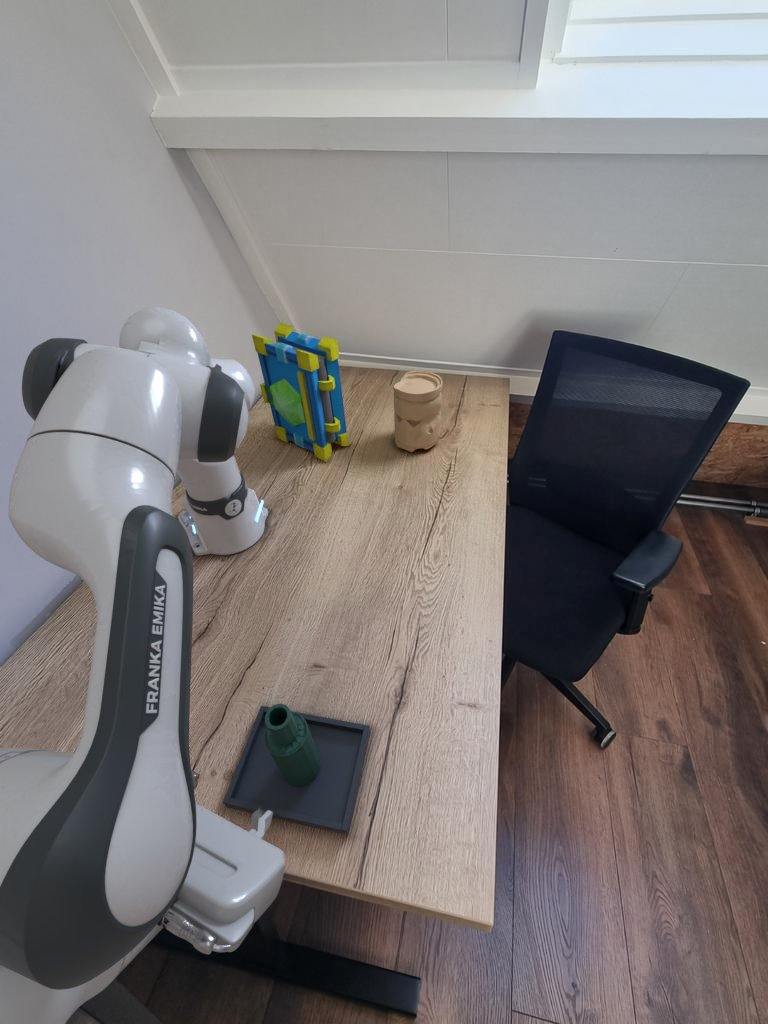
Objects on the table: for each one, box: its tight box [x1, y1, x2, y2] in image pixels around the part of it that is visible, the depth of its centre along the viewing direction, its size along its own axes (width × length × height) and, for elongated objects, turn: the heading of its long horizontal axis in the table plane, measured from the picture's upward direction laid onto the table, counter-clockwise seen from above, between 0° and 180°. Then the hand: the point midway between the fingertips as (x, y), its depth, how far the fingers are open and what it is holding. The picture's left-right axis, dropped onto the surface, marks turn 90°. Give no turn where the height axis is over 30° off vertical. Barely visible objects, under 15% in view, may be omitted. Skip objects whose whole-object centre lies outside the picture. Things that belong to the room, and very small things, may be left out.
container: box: [392, 370, 444, 453], centre depth 121 cm, size 13×13×18 cm
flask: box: [264, 703, 320, 787], centre depth 60 cm, size 6×6×17 cm
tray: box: [222, 705, 371, 836], centre depth 66 cm, size 18×14×2 cm
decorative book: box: [251, 322, 350, 463], centre depth 119 cm, size 14×23×30 cm, turn 50°
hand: (228, 795), depth 48 cm, fingers open, 8 cm apart
